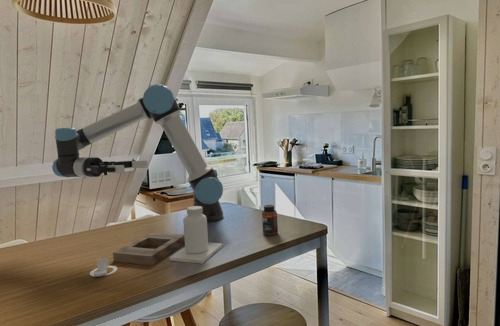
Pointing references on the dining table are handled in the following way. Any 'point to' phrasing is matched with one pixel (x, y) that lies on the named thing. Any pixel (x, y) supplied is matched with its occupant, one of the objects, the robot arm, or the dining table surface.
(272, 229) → the supplement bottle
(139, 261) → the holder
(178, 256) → the board
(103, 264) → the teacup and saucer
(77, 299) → the dining table surface
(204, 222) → the pill bottle
